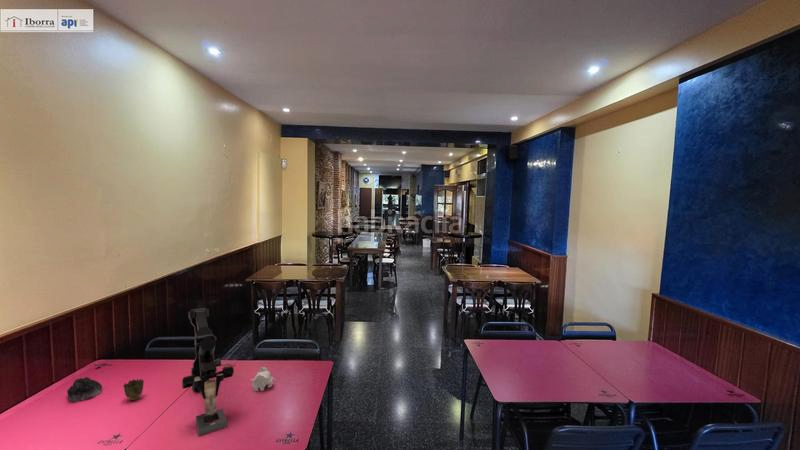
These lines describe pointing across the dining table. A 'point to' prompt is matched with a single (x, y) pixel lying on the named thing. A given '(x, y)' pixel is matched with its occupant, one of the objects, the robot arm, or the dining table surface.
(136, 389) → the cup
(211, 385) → the keyed peg
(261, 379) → the elephant figurine
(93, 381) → the dark grey rock
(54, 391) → the dining table surface
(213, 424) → the block
